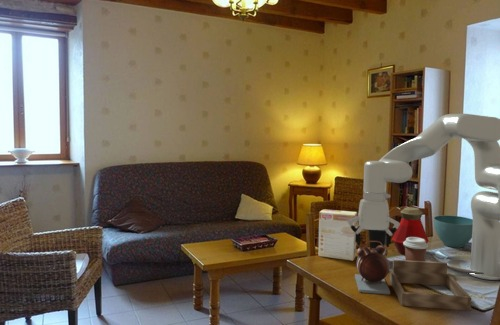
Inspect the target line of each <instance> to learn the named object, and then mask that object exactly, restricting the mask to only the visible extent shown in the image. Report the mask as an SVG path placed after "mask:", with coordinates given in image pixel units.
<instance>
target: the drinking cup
mask: <svg viewBox="0 0 500 325" xmlns="http://www.w3.org/2000/svg"><path fill="white" fill-rule="evenodd" d="M386 233H387V232H386V231H385V230H368V239H369V240H368V241H380V242H381V243H382V245H383V246H384V245H385V237H386ZM381 243H379V242H368V244H369V250H371V248H376V247H377V246H382V245H381Z"/></svg>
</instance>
